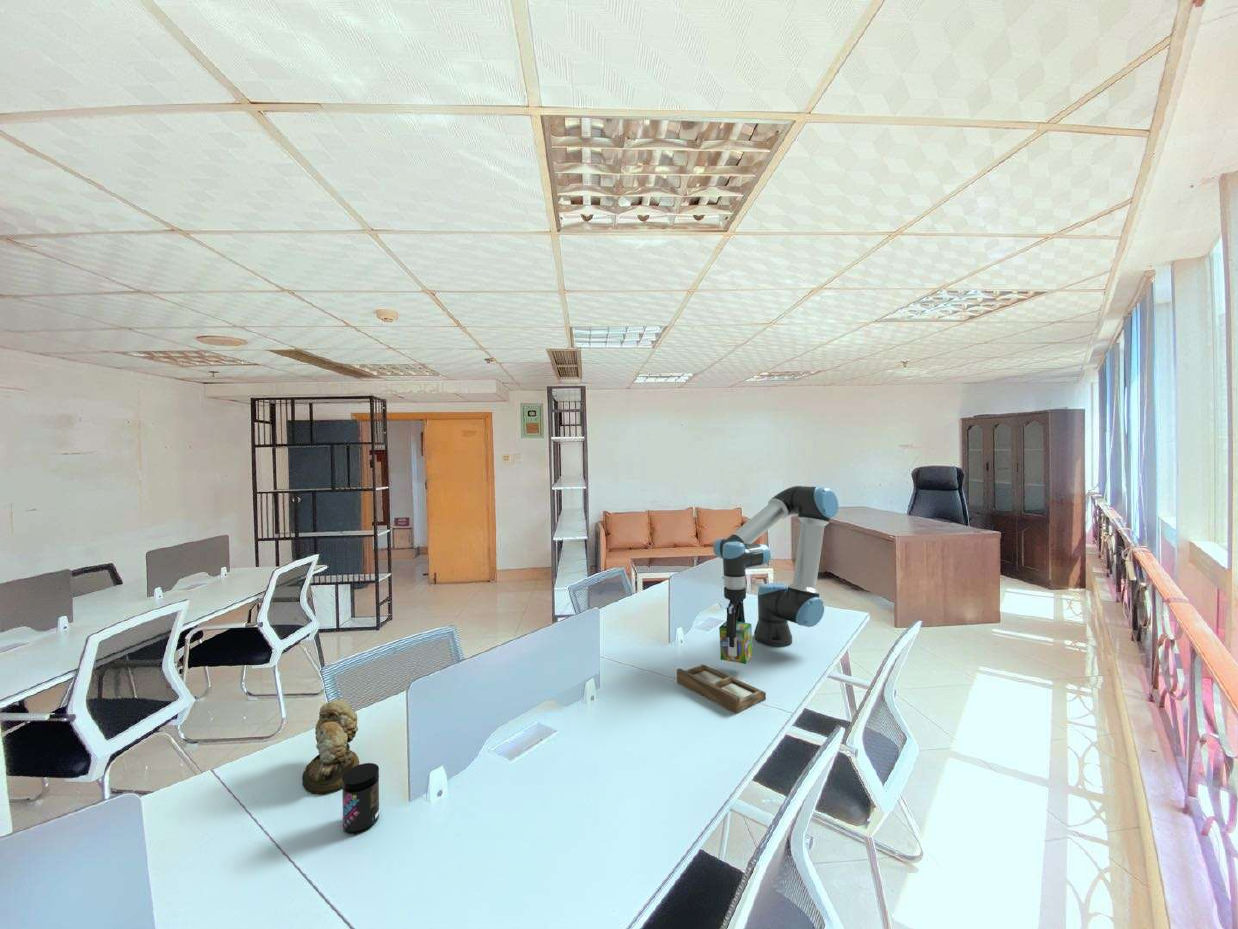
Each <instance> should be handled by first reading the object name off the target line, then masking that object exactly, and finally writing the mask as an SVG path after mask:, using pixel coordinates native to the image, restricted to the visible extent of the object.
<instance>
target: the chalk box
mask: <svg viewBox="0 0 1238 929" xmlns="http://www.w3.org/2000/svg"><path fill="white" fill-rule="evenodd" d="M726 626H727V620H725V621H724V623H722V624H721V625H720V626H719V628H718V629H719V650H720V660H721V661H727V662H733V663H738V664H741V665H742V664H743V665H747V663H748V662H749V660H750V659H751V658H752V656H753V632H752V631H753V630H752V629H753V628H752V627H753V626H752V623H748V622H745V623H744V622H740V621H737V625H736V637H737V657H736V656H730V655H729V649H728V637H726V636H725V635H726Z"/></svg>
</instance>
